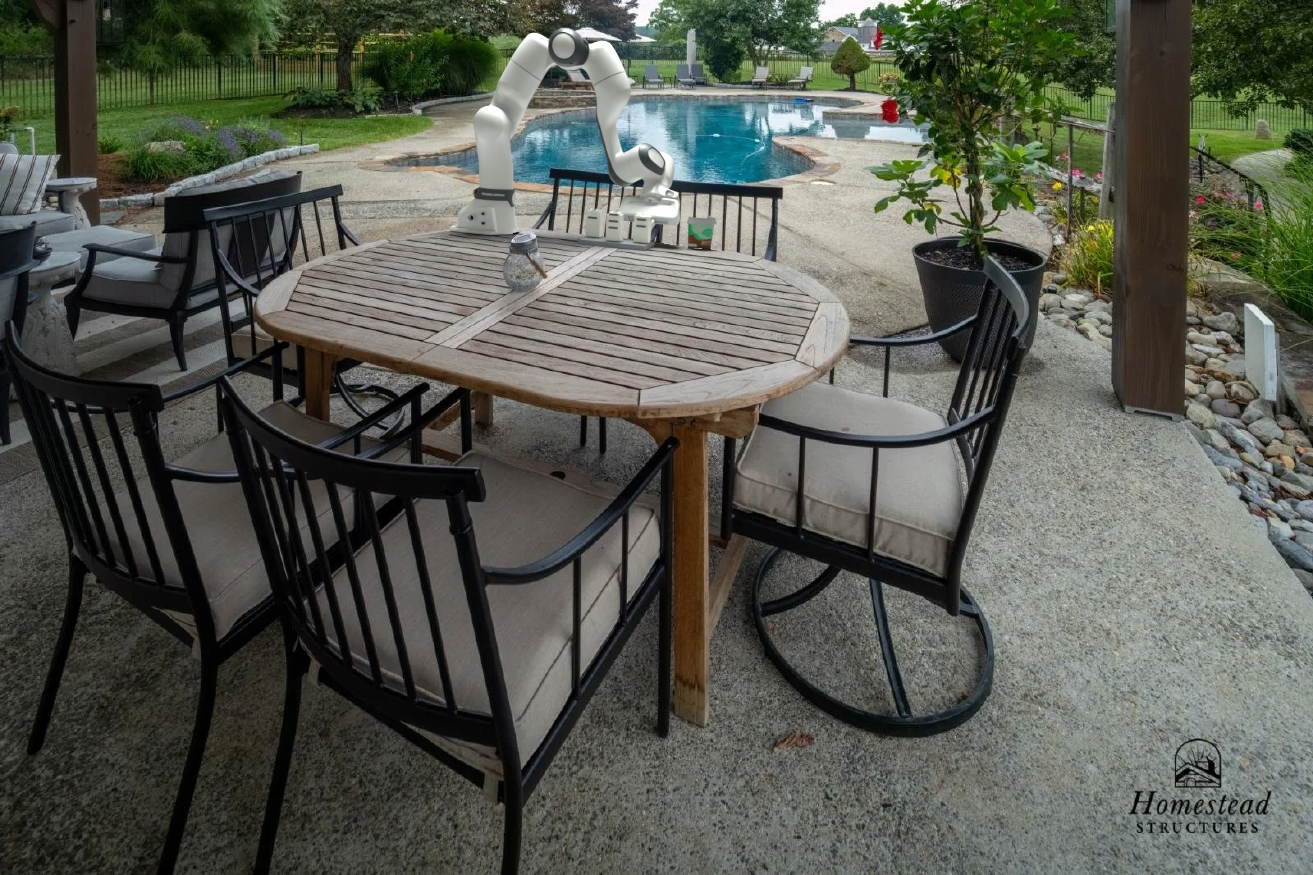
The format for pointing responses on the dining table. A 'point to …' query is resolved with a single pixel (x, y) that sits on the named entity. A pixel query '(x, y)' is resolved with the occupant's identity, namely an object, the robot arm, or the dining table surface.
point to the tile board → (615, 243)
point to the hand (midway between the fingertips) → (644, 231)
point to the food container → (700, 232)
